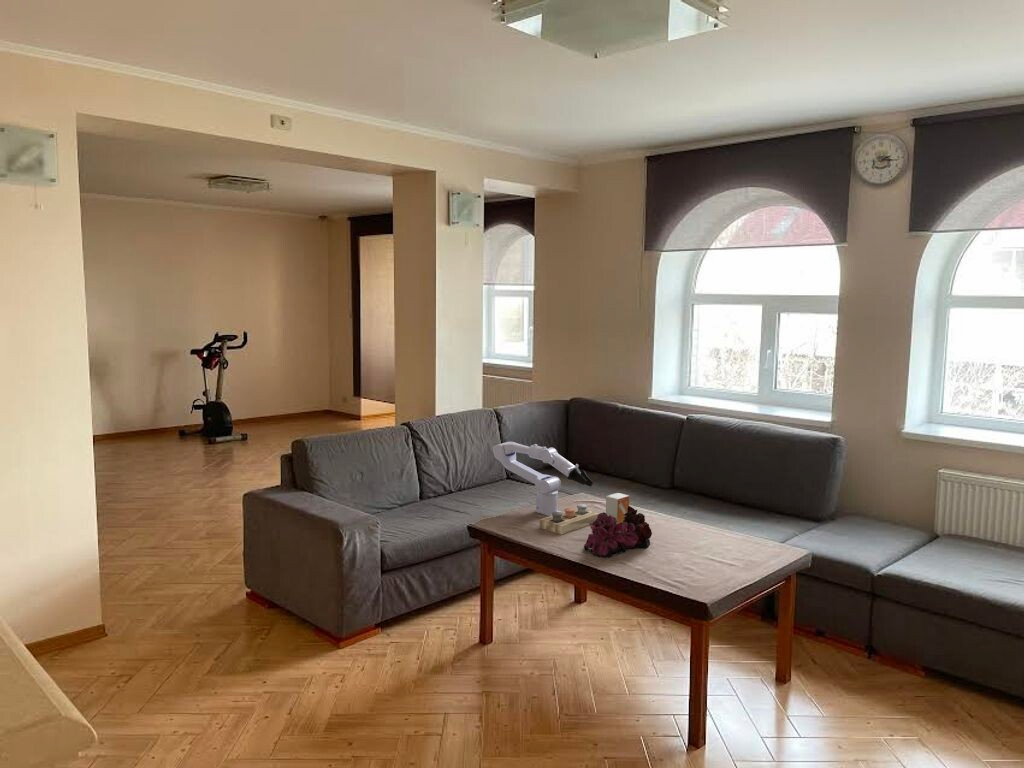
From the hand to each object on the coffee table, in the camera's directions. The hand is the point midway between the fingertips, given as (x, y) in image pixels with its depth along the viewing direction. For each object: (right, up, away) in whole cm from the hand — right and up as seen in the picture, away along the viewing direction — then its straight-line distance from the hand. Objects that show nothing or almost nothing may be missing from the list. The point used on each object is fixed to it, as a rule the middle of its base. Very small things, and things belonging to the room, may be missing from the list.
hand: (588, 483), depth 313 cm
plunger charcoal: (-14, -15, -8) cm, 22 cm away
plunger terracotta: (-8, -14, -2) cm, 16 cm away
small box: (+12, -17, -3) cm, 21 cm away
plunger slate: (-3, -13, +4) cm, 14 cm away
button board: (-8, -17, -2) cm, 19 cm away
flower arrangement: (+9, -21, -28) cm, 37 cm away
